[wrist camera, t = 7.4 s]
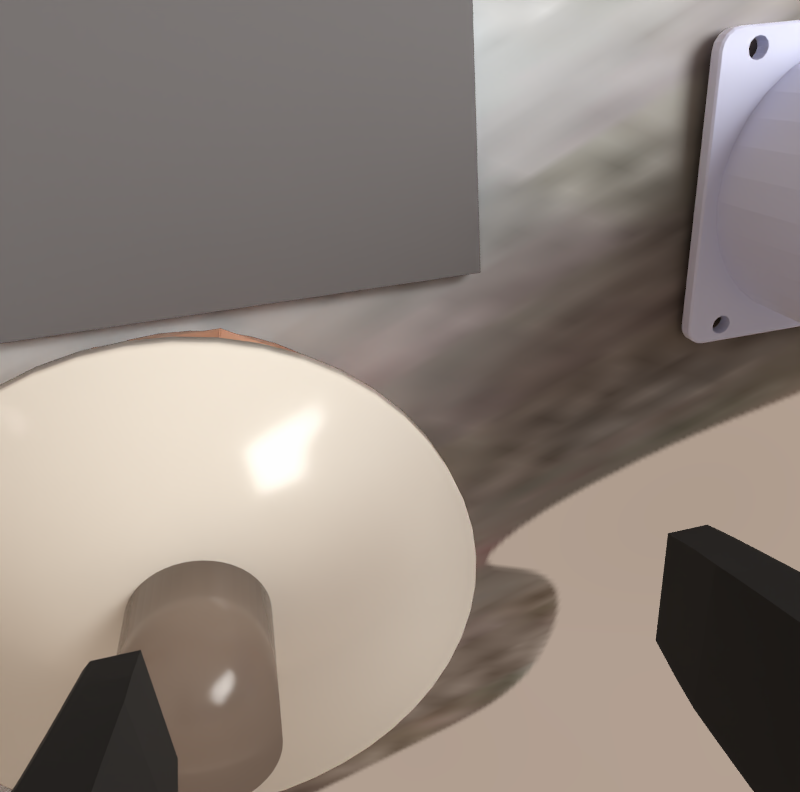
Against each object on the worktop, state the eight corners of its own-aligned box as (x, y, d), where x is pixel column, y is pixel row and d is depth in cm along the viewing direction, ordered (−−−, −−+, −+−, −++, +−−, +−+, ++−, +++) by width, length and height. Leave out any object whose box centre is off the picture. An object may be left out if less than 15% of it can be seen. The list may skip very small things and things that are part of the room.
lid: (454, 288, 14) (531, 366, 11) (478, 720, 20) (533, 864, 16) (-258, 401, 12) (-461, 545, 9) (0, 845, 18) (-57, 1040, 14)
